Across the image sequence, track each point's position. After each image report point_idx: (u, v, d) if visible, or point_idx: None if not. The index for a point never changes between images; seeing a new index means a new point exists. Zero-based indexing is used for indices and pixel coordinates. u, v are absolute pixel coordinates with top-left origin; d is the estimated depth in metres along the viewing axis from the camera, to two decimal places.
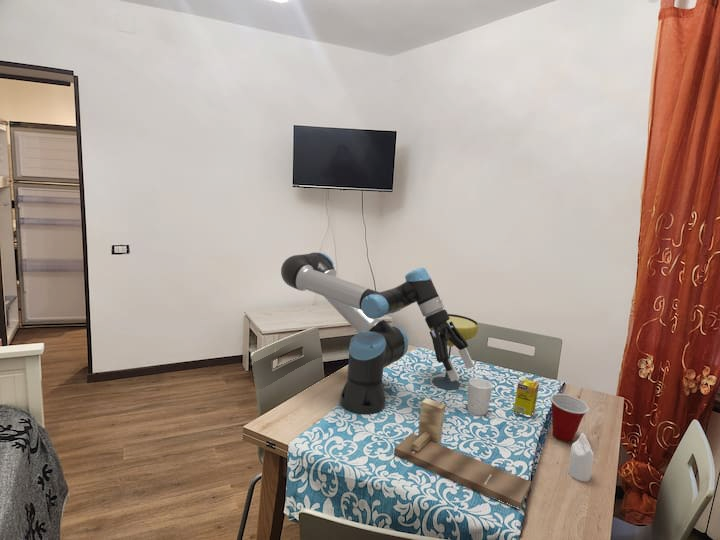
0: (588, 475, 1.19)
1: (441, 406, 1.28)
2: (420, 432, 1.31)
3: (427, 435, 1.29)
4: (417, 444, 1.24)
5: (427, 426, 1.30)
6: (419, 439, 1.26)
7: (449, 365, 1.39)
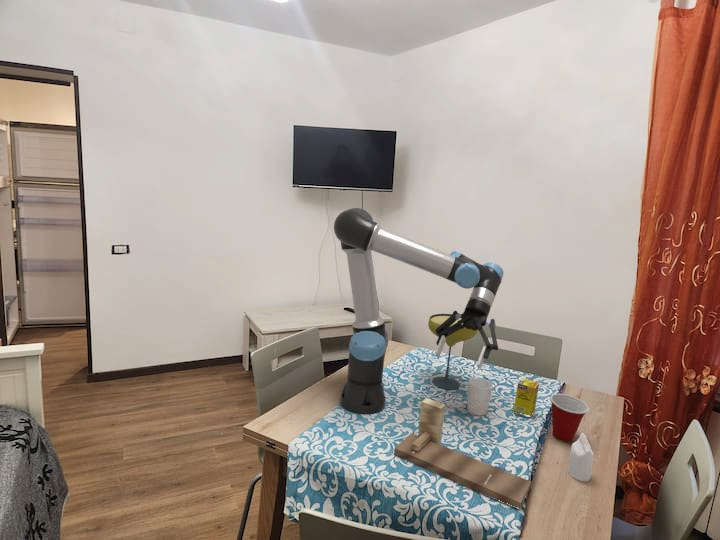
0: (588, 475, 1.19)
1: (441, 406, 1.28)
2: (420, 432, 1.31)
3: (427, 435, 1.29)
4: (417, 444, 1.24)
5: (427, 426, 1.30)
6: (419, 439, 1.26)
7: None
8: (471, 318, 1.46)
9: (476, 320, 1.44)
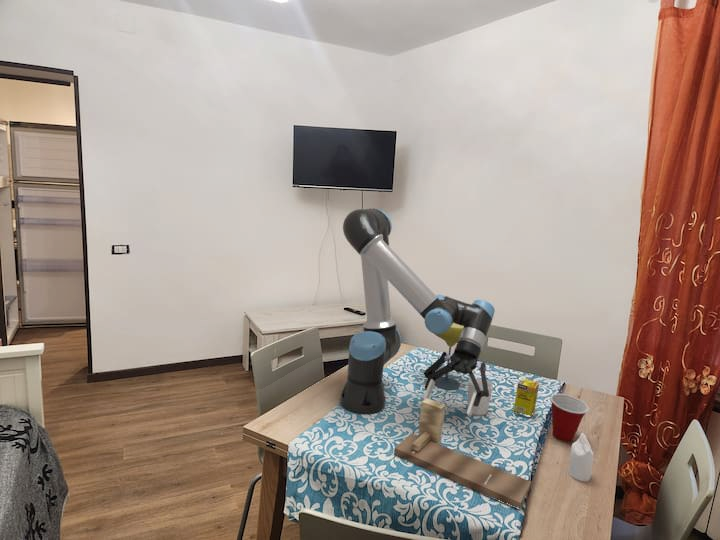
0: (588, 475, 1.19)
1: (441, 406, 1.28)
2: (420, 432, 1.31)
3: (427, 435, 1.29)
4: (417, 444, 1.24)
5: (427, 426, 1.30)
6: (419, 439, 1.26)
7: None
8: (461, 361, 1.39)
9: (466, 364, 1.37)
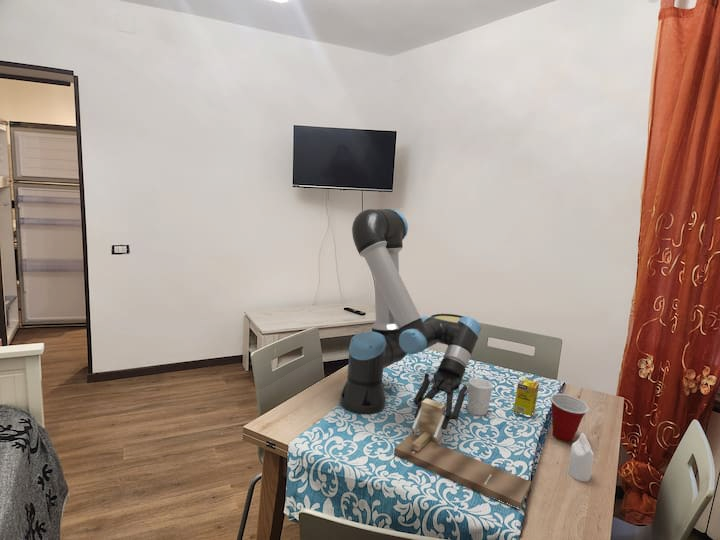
0: (588, 475, 1.19)
1: (441, 406, 1.28)
2: (420, 432, 1.31)
3: (427, 435, 1.29)
4: (417, 444, 1.24)
5: (427, 426, 1.30)
6: (419, 439, 1.26)
7: None
8: (444, 378, 1.35)
9: (448, 383, 1.33)
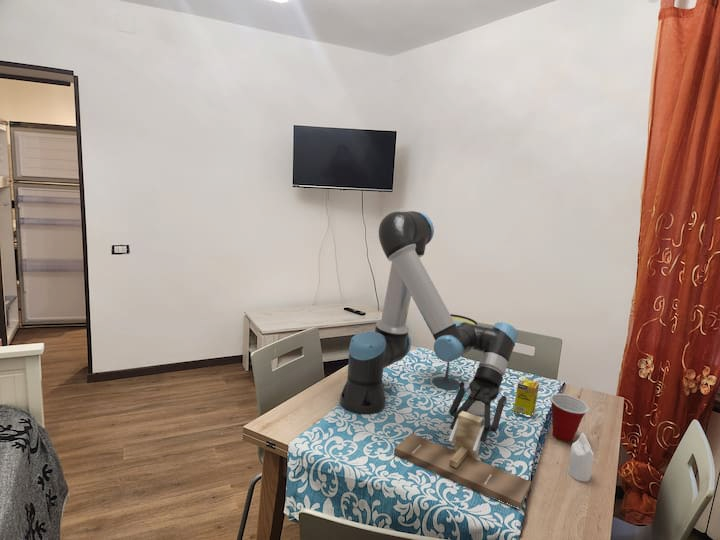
0: (588, 475, 1.19)
1: (479, 420, 1.22)
2: (456, 446, 1.25)
3: (464, 450, 1.23)
4: (455, 460, 1.18)
5: (464, 440, 1.24)
6: (457, 454, 1.20)
7: None
8: (481, 388, 1.29)
9: (486, 392, 1.27)
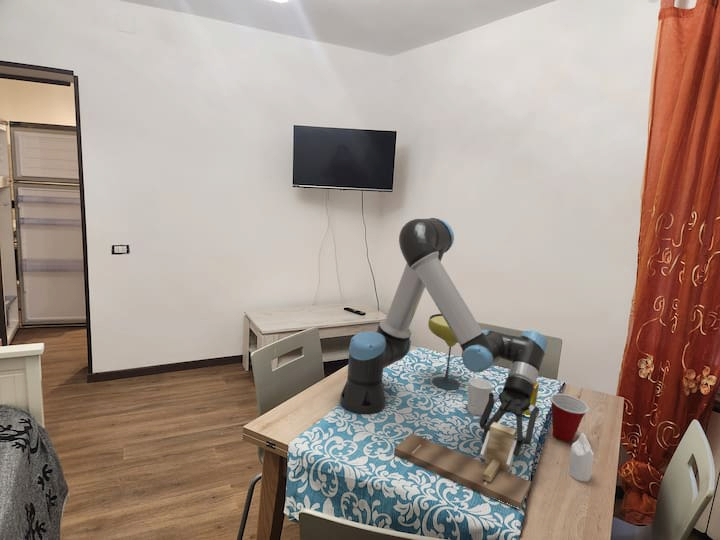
0: (588, 475, 1.19)
1: (512, 431, 1.17)
2: (488, 459, 1.21)
3: (497, 463, 1.18)
4: (489, 474, 1.13)
5: (496, 453, 1.19)
6: (489, 468, 1.16)
7: None
8: (512, 399, 1.25)
9: (517, 403, 1.22)
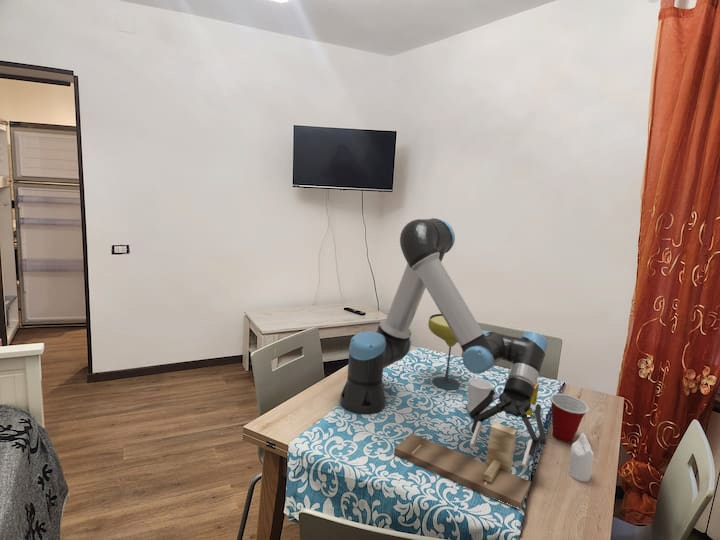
0: (588, 475, 1.19)
1: (513, 432, 1.17)
2: (488, 459, 1.21)
3: (497, 463, 1.18)
4: (489, 474, 1.13)
5: (497, 453, 1.19)
6: (490, 468, 1.16)
7: None
8: (512, 401, 1.24)
9: (519, 405, 1.22)
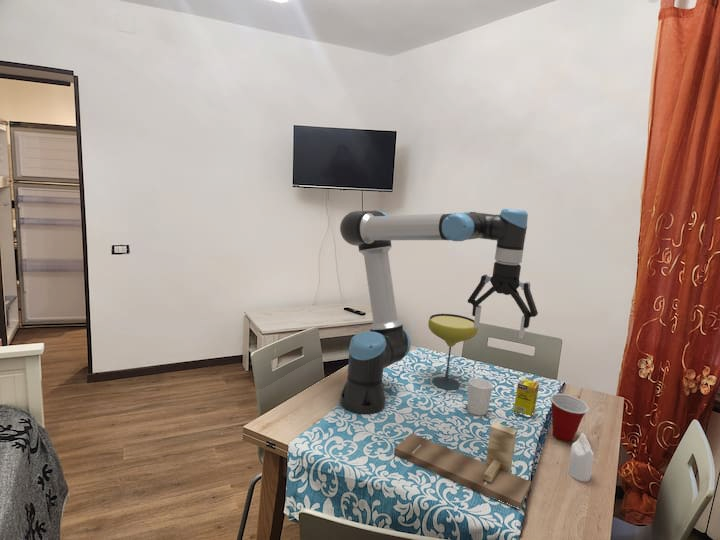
0: (588, 475, 1.19)
1: (513, 432, 1.17)
2: (488, 459, 1.21)
3: (497, 463, 1.18)
4: (489, 474, 1.13)
5: (497, 453, 1.19)
6: (490, 468, 1.16)
7: None
8: (502, 284, 1.33)
9: (508, 288, 1.31)
